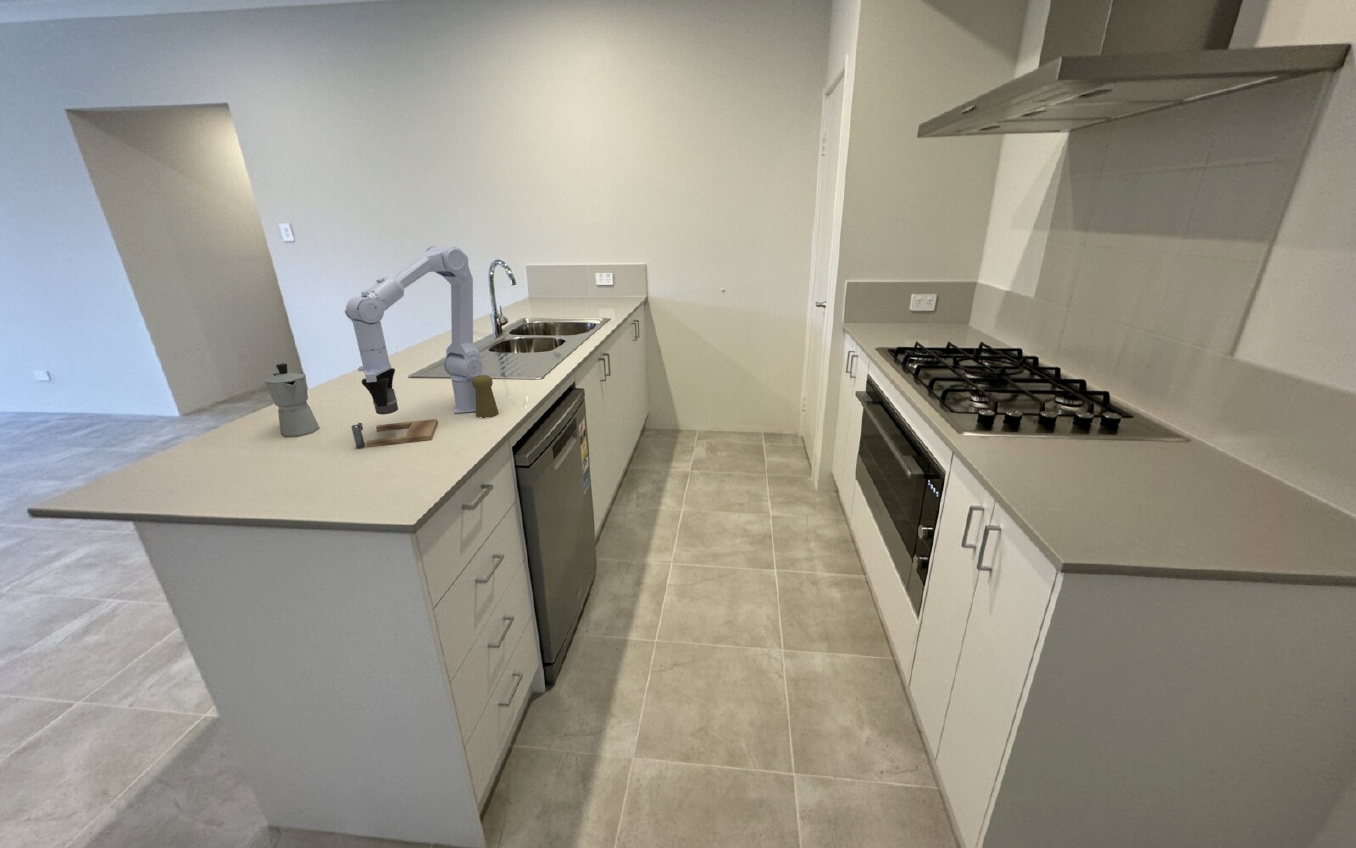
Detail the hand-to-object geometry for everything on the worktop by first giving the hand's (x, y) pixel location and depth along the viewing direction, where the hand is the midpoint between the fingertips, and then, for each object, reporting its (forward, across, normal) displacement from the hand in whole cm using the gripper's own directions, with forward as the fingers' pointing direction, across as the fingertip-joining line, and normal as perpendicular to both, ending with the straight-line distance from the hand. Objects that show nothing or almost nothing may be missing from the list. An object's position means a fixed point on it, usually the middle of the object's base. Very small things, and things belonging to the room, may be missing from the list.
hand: (384, 402), depth 136 cm
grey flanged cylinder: (+2, 0, 0) cm, 2 cm away
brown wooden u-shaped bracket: (+9, 0, +4) cm, 10 cm away
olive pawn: (+9, -9, +23) cm, 26 cm away
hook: (+9, +4, -6) cm, 11 cm away
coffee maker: (+9, -12, -24) cm, 29 cm away
